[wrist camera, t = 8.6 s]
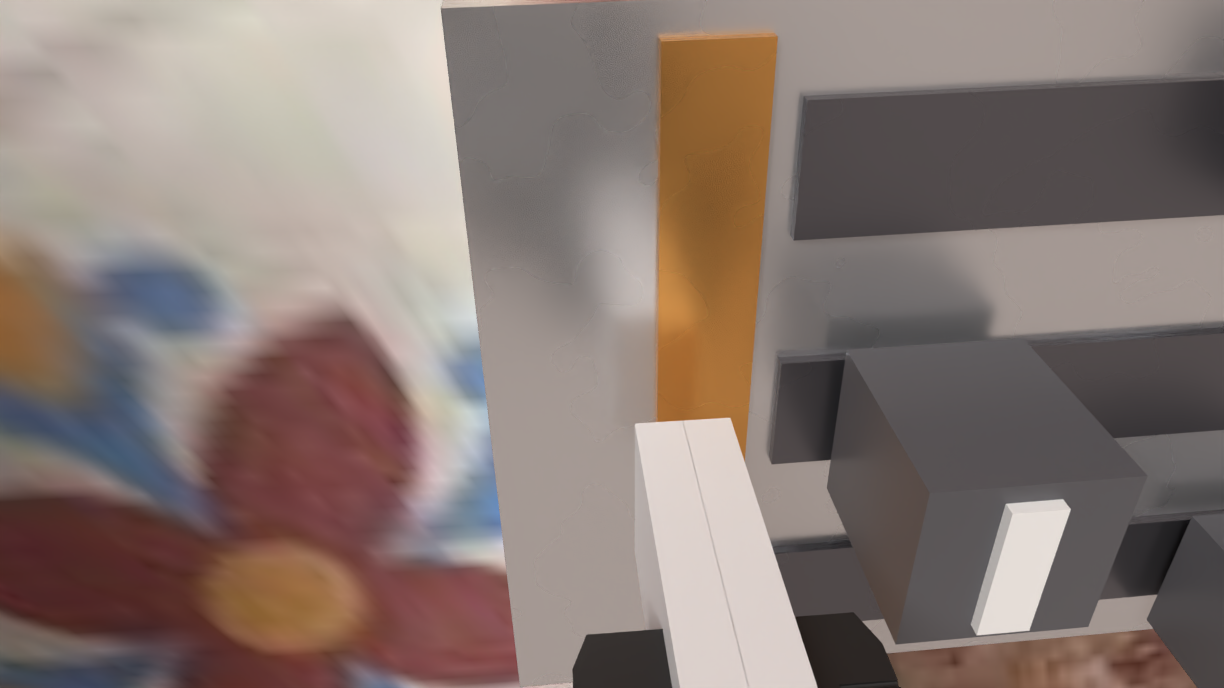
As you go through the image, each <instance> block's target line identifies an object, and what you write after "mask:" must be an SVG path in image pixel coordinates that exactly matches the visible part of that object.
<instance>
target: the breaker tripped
mask: <svg viewBox="0 0 1224 688" xmlns="http://www.w3.org/2000/svg"><path fill="white" fill-rule="evenodd" d="M1147 477H1148V476H1147V474H1146V473H1145V472H1144V471H1143V470H1142V469H1141V468H1140V467H1139V466H1138V465H1137V463H1136V462H1135V461H1134V460H1133V459H1132V458H1131V457H1130V456H1129V455H1128V453H1127V452H1126V451H1125V450H1124V449H1123V448H1122V447H1121V446H1120V445H1119V444H1118V442H1117V441H1116V440H1115V439H1114V438H1113V437H1112V436H1111V435H1110V434H1109V432H1108V431H1107V430H1106V429H1105V428H1104V427H1103V426H1102V425H1101V424H1100V423H1099V421H1098V420H1097V419H1096V418H1095V417H1094V416H1093V415H1092V414H1091V413H1090V412H1089V410H1088V409H1087V408H1086V407H1085V406H1084V405H1083V404H1082V403H1081V402H1080V400H1079V399H1078V398H1077V397H1076V396H1075V395H1074V394H1073V393H1072V392H1071V391H1070V389H1069V388H1068V387H1067V386H1066V385H1065V384H1064V383H1063V382H1062V381H1061V379H1060V378H1059V377H1058V376H1057V375H1056V374H1055V373H1054V372H1053V371H1052V370H1051V368H1050V367H1049V366H1048V365H1047V364H1046V363H1045V362H1044V361H1043V360H1042V359H1041V357H1040V356H1039V355H1038V354H1037V353H1036V352H1035V351H1034V350H1033V349H1032V347H1031V346H1030V345H1029V344H1028V343H1027V342H1026V341H1025V340H1024V339H1023V338H1012V339H998V340H983V341H968V342H954V343H939V344H924V345H910V346H895V347H880V348H865V349H851V350H847V351H846V357H845V364H844V371H843V378H842V385H841V392H840V399H839V406H838V413H837V420H836V427H835V434H834V441H833V448H832V454H831V461H830V468H829V475H828V482H827V490H828V492H829V494H830V497H831V499H832V501H833V504H834V506H835V508H836V510H837V513H838V515H839V517H840V519H841V522H842V524H843V526H844V529H845V531H846V533H847V535H848V538H849V540H850V542H851V544H852V547H853V549H854V551H855V554H856V556H857V558H858V560H859V563H860V565H861V567H862V569H863V572H864V574H865V576H866V579H867V581H868V583H869V585H870V588H871V590H872V592H873V595H874V597H875V599H876V601H877V604H878V606H879V608H880V610H881V613H882V615H883V617H884V620H885V622H886V624H887V626H888V629H889V631H890V633H891V635H892V638H893V640H894V642H895V645H897V644H907V643H918V642H929V641H940V640H951V639H962V638H973V637H984V636H995V635H1006V634H1017V633H1028V632H1039V631H1050V630H1061V629H1072V628H1083V627H1088V626H1089V624H1090V621H1091V619H1092V616H1093V613H1094V611H1095V608H1096V606H1097V603H1098V601H1099V598H1100V596H1101V593H1102V591H1103V588H1104V586H1105V583H1106V581H1107V578H1108V575H1109V573H1110V570H1111V568H1112V565H1113V563H1114V560H1115V558H1116V555H1117V553H1118V550H1119V548H1120V545H1121V543H1122V540H1123V538H1124V535H1125V532H1126V530H1127V527H1128V525H1129V522H1130V520H1131V517H1132V515H1133V512H1134V510H1135V507H1136V505H1137V502H1138V500H1139V497H1140V494H1141V492H1142V489H1143V487H1144V484H1145V482H1146V479H1147Z"/></svg>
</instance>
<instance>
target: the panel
mask: <svg viewBox="0 0 1224 688" xmlns="http://www.w3.org/2000/svg"><path fill="white" fill-rule="evenodd" d="M441 14H442V23H443V32H444V40H445V49H446V57H447V66H448V74H449V83H450V91H451V100H452V109H453V117H454V126H455V134H456V143H457V151H458V160H459V168H460V177H461V186H462V194H463V203H464V211H465V220H466V228H467V237H468V245H469V254H470V262H471V271H472V280H473V288H474V297H475V305H476V314H477V322H478V331H479V339H480V348H481V357H482V365H483V374H484V382H485V391H486V399H487V408H488V416H489V425H490V434H491V442H492V451H493V459H494V468H495V476H496V485H497V493H498V502H499V511H500V519H501V528H502V536H503V545H504V553H505V562H506V570H507V579H508V588H509V596H510V605H511V613H512V622H513V630H514V639H515V647H516V656H517V664H518V673H519V682H520V687H527V686H537V685H548V684H559V683H570V682H573V673H572V669H573V666H574V664H575V661H576V659H577V657H578V654H579V652H580V649H581V647H582V644H583V642H584V639H585V637H586V635H588V634H601V633H614V632H628V631H641V630H646V626H645V619H644V612H643V605H642V598H641V591H640V584H639V577H638V570H637V563H636V556H635V423H651V422H667V421H683V420H700V419H716V418H731V421H732V424H733V428H734V431H735V434H736V437H737V440H738V443H739V446H740V449H741V452H742V455H743V458H744V462H745V465H746V468H747V471H748V474H749V477H750V480H751V483H752V486H753V489H754V492H755V496H756V499H757V502H758V505H759V508H760V511H761V514H762V517H763V520H764V523H765V526H766V530H767V533H768V536H769V539H770V542H771V545H772V548H773V551H774V554H775V557H776V560H777V563H778V567H779V570H780V573H781V576H782V579H783V582H784V585H785V588H786V591H787V594H788V597H789V601H790V604H791V607H792V610H793V613H794V616H795V617H797V616H810V615H824V614H837V613H850V612H854V613H855V614H856V615H857V616H858V618H859V619H860V620H861V621H862V622H863V623H864V624H865V625H866V626H867V627H868V628H869V629H870V630H871V631H872V633H873V634H874V635H875V636H876V637H877V638H878V639H879V640H880V641H881V642H882V644H883V646H884V648H885V651H886V653H897V652H908V651H919V650H929V649H940V648H951V647H962V646H973V645H984V644H995V643H1006V642H1017V641H1027V640H1038V639H1049V638H1060V637H1071V636H1082V635H1093V634H1104V633H1115V632H1125V631H1136V630H1147V629H1153V628H1152V626H1151V625H1150V624H1149V622H1148V621H1147V620H1146V619H1147V617H1148V615H1149V613H1150V610H1151V608H1152V606H1153V604H1154V601H1155V599H1156V597H1157V595H1158V592H1159V590H1160V588H1161V586H1162V583H1163V581H1164V579H1165V577H1166V574H1167V572H1168V570H1169V568H1170V565H1171V563H1172V561H1173V559H1174V556H1175V554H1176V552H1177V550H1178V547H1179V545H1180V543H1181V541H1182V538H1183V536H1184V534H1185V532H1186V529H1187V527H1188V525H1189V523H1190V520H1191V518H1192V516H1201V515H1213V514H1224V0H443V3H442V6H441ZM1012 338H1023V339H1024V340H1025V341H1026V342H1027V343H1028V344H1029V345H1030V346H1031V347H1032V349H1033V350H1034V351H1035V352H1036V353H1037V354H1038V355H1039V356H1040V357H1041V359H1042V360H1043V361H1044V362H1045V363H1046V364H1047V365H1048V366H1049V367H1050V368H1051V370H1052V371H1053V372H1054V373H1055V374H1056V375H1057V376H1058V377H1059V378H1060V379H1061V381H1062V382H1063V383H1064V384H1065V385H1066V386H1067V387H1068V388H1069V389H1070V391H1071V392H1072V393H1073V394H1074V395H1075V396H1076V397H1077V398H1078V399H1079V400H1080V402H1081V403H1082V404H1083V405H1084V406H1085V407H1086V408H1087V409H1088V410H1089V412H1090V413H1091V414H1092V415H1093V416H1094V417H1095V418H1096V419H1097V420H1098V421H1099V423H1100V424H1101V425H1102V426H1103V427H1104V428H1105V429H1106V430H1107V431H1108V432H1109V434H1110V435H1111V436H1112V437H1113V438H1114V439H1115V440H1116V441H1117V442H1118V444H1119V445H1120V446H1121V447H1122V448H1123V449H1124V450H1125V451H1126V452H1127V453H1128V455H1129V456H1130V457H1131V458H1132V459H1133V460H1134V461H1135V462H1136V463H1137V465H1138V466H1139V467H1140V468H1141V469H1142V470H1143V471H1144V472H1145V473H1146V474H1147V476H1148V477H1147V479H1146V482H1145V484H1144V487H1143V489H1142V492H1141V494H1140V497H1139V500H1138V502H1137V505H1136V507H1135V510H1134V512H1133V515H1132V517H1131V520H1130V522H1129V525H1128V527H1127V530H1126V532H1125V535H1124V538H1123V540H1122V543H1121V545H1120V548H1119V550H1118V553H1117V555H1116V558H1115V560H1114V563H1113V565H1112V568H1111V570H1110V573H1109V575H1108V578H1107V581H1106V583H1105V586H1104V588H1103V591H1102V593H1101V596H1100V598H1099V601H1098V603H1097V606H1096V608H1095V611H1094V613H1093V616H1092V619H1091V621H1090V624H1089V626H1088V627H1083V628H1072V629H1061V630H1050V631H1039V632H1028V633H1017V634H1006V635H995V636H984V637H973V638H962V639H951V640H940V641H929V642H918V643H907V644H897V645H895V642H894V640H893V638H892V635H891V633H890V631H889V629H888V626H887V624H886V622H885V620H884V617H883V615H882V613H881V610H880V608H879V606H878V604H877V601H876V599H875V597H874V595H873V592H872V590H871V588H870V585H869V583H868V581H867V579H866V576H865V574H864V572H863V569H862V567H861V565H860V563H859V560H858V558H857V556H856V554H855V551H854V549H853V547H852V544H851V542H850V540H849V538H848V535H847V533H846V531H845V529H844V526H843V524H842V522H841V519H840V517H839V515H838V513H837V510H836V508H835V506H834V504H833V501H832V499H831V497H830V494H829V492H828V490H827V482H828V475H829V468H830V461H831V454H832V448H833V441H834V434H835V427H836V420H837V413H838V406H839V399H840V392H841V385H842V378H843V371H844V364H845V357H846V351H847V350H851V349H865V348H880V347H895V346H910V345H924V344H939V343H954V342H968V341H983V340H998V339H1012Z"/></svg>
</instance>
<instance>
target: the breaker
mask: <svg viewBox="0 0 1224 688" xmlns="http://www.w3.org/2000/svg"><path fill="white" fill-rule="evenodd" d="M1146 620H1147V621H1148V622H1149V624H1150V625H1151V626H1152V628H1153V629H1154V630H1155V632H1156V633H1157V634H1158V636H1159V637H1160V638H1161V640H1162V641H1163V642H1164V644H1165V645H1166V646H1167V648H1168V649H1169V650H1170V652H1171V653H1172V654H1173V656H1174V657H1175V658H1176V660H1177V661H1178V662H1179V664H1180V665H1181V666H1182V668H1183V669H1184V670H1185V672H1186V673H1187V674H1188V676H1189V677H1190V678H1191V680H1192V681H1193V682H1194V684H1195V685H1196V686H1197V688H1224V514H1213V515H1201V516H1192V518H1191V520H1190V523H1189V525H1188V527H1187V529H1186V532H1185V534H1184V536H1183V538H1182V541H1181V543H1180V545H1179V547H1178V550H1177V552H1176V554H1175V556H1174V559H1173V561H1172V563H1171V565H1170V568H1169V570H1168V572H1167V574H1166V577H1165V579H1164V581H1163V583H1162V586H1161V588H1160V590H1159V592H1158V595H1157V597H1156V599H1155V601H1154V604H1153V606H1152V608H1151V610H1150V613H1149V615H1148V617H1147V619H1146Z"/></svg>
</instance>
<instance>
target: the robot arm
mask: <svg viewBox="0 0 1224 688" xmlns="http://www.w3.org/2000/svg"><path fill="white" fill-rule="evenodd" d="M635 556H636V563H637V570H638V577H639V584H640V591H641V598H642V605H643V612H644V619H645V626H646V630H641V631H628V632H614V633H601V634H588V635H586V637H585V639H584V642H583V644H582V647H581V649H580V652H579V654H578V657H577V659H576V661H575V664H574V666H573V669H572V673H573V688H901V687H899V686H898V682H897V677H896V675H895V673H894V670H893V668H892V665H891V663H890V660H889V658H888V656H887V653H886V651H885V648H884V646H883V644H882V642H881V641H880V640H879V639H878V638H877V637H876V636H875V635H874V634H873V633H872V631H871V630H870V629H869V628H868V627H867V626H866V625H865V624H864V623H863V622H862V621H861V620H860V619H859V618H858V616H857V615H856V614H855V613H854V612H850V613H837V614H824V615H810V616H797V617H795V616H794V613H793V610H792V607H791V604H790V601H789V597H788V594H787V591H786V588H785V585H784V582H783V579H782V576H781V573H780V570H779V567H778V563H777V560H776V557H775V554H774V551H773V548H772V545H771V542H770V539H769V536H768V533H767V530H766V526H765V523H764V520H763V517H762V514H761V511H760V508H759V505H758V502H757V499H756V496H755V492H754V489H753V486H752V483H751V480H750V477H749V474H748V471H747V468H746V465H745V462H744V458H743V455H742V452H741V449H740V446H739V443H738V440H737V437H736V434H735V431H734V428H733V424H732V421H731V418H716V419H700V420H683V421H667V422H651V423H635Z"/></svg>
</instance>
